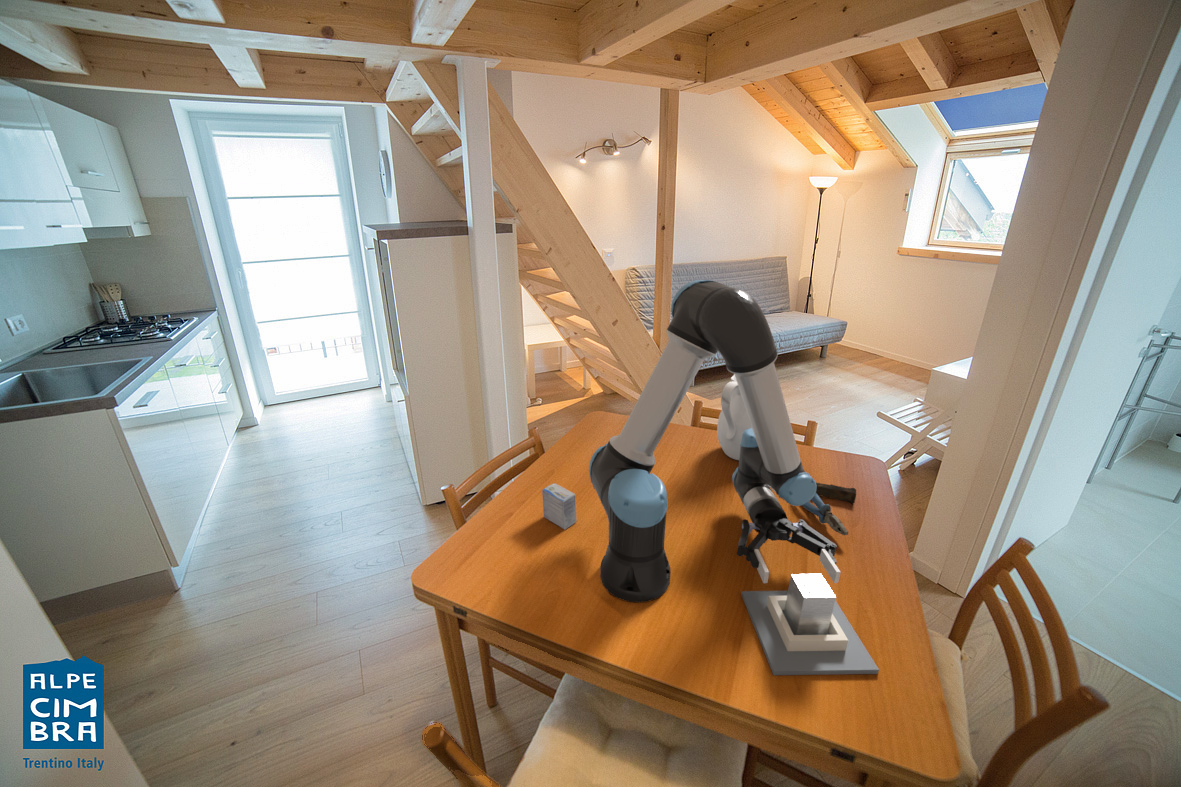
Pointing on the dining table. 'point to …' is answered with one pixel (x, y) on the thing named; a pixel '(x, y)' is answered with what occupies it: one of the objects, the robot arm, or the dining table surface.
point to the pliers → (825, 514)
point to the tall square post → (809, 604)
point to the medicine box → (559, 505)
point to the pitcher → (732, 419)
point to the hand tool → (836, 492)
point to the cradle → (805, 640)
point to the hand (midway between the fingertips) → (801, 577)
